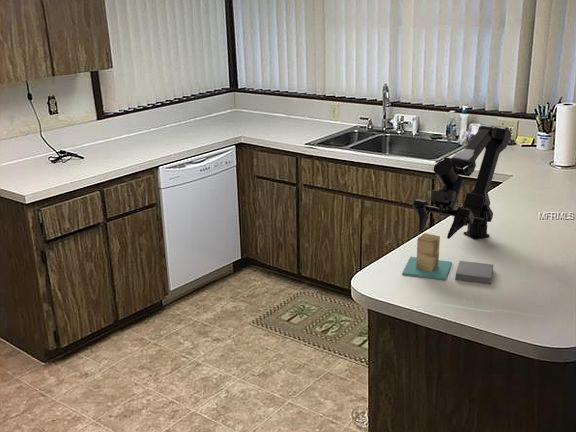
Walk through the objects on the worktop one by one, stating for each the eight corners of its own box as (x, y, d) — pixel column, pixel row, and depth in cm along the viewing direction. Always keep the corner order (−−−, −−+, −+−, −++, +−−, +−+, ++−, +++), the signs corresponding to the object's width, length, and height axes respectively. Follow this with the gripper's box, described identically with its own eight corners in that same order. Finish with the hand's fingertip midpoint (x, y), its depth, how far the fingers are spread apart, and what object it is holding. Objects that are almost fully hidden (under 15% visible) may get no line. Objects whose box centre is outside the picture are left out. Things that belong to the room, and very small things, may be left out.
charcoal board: (459, 266, 198) (459, 260, 197) (493, 270, 194) (493, 264, 193) (455, 279, 189) (455, 273, 188) (490, 284, 185) (490, 278, 185)
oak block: (423, 262, 200) (424, 233, 196) (438, 266, 197) (439, 236, 193) (416, 268, 196) (417, 238, 192) (431, 271, 193) (432, 241, 190)
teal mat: (410, 258, 204) (410, 256, 204) (451, 263, 200) (451, 261, 200) (402, 274, 193) (402, 272, 193) (445, 280, 188) (445, 278, 188)
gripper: (415, 174, 199) (398, 218, 195) (473, 183, 189) (456, 229, 184) (425, 191, 208) (409, 233, 203) (480, 201, 197) (465, 245, 193)
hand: (433, 235), depth 196 cm, fingers open, 9 cm apart
